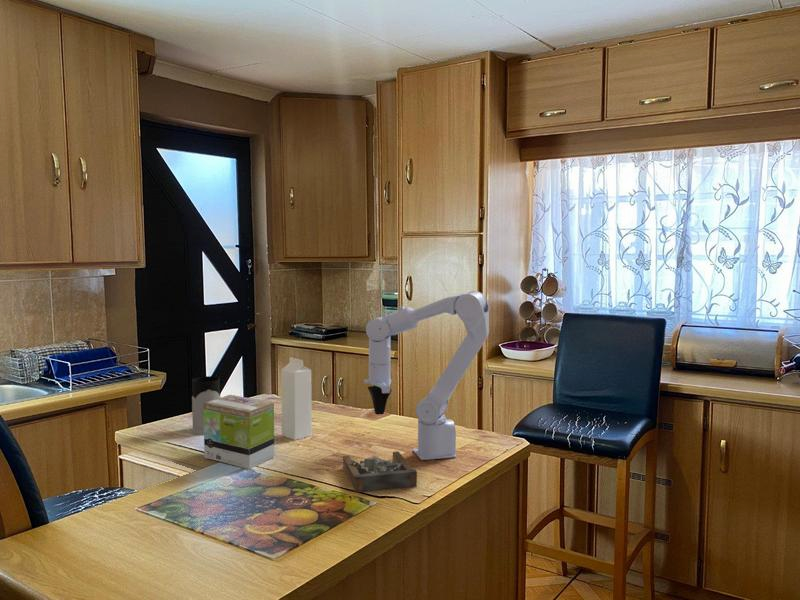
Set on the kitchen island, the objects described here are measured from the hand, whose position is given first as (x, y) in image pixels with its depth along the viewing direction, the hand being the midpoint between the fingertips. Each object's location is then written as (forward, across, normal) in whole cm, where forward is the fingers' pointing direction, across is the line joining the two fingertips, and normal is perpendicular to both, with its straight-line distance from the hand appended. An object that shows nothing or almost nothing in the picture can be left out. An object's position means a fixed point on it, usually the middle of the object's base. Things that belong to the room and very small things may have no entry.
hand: (379, 413), depth 169 cm
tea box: (+10, -1, -36) cm, 37 cm away
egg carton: (+10, +20, -5) cm, 22 cm away
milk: (+10, -16, -20) cm, 27 cm away
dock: (+9, +19, -5) cm, 22 cm away
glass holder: (+10, -30, -45) cm, 55 cm away
